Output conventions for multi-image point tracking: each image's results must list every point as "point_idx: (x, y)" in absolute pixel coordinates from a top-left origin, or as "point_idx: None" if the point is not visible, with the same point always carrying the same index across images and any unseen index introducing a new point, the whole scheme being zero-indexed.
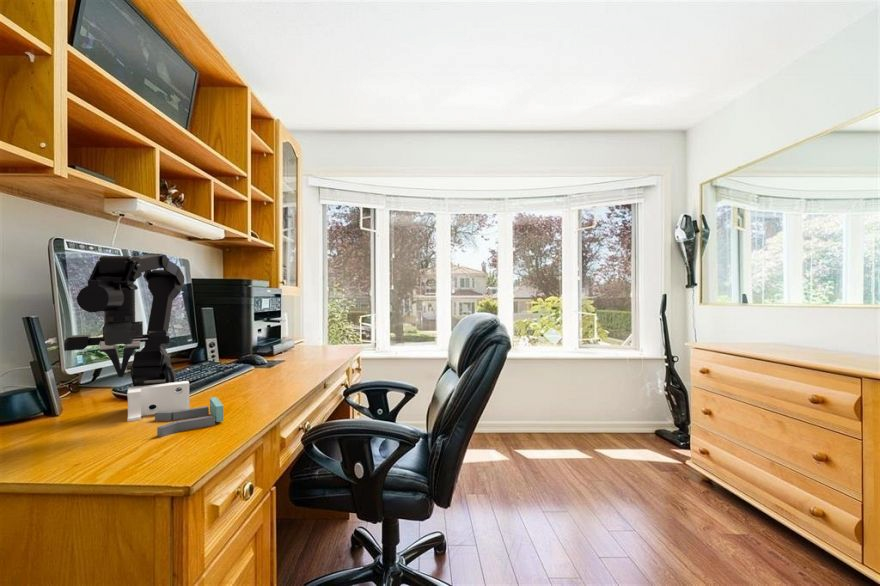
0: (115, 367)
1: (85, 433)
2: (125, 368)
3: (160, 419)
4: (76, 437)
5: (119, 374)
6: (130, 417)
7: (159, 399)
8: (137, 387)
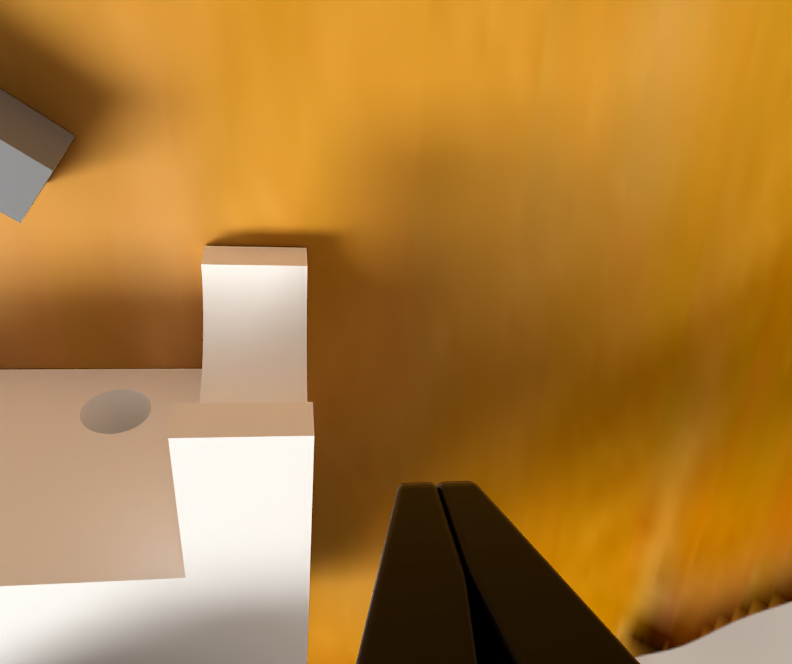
0: (612, 652)
1: (605, 120)
2: (377, 617)
3: (11, 104)
4: (681, 31)
5: (473, 513)
6: (285, 286)
7: (37, 466)
8: (225, 636)
